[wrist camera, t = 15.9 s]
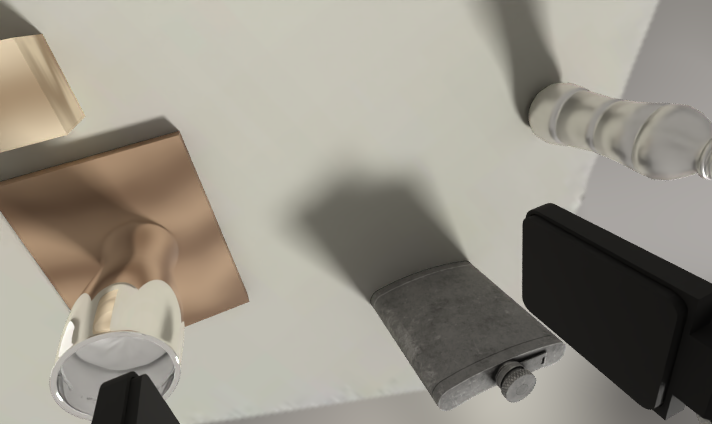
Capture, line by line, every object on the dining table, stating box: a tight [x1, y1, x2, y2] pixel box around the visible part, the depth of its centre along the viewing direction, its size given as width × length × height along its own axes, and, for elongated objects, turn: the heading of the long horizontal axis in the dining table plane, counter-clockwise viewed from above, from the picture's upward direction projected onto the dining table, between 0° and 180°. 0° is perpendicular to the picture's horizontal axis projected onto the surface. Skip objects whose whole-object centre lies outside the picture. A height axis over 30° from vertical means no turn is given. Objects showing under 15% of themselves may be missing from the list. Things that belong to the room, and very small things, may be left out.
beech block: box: [0, 34, 85, 153], centre depth 27 cm, size 6×6×6 cm
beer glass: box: [49, 222, 185, 421], centre depth 30 cm, size 7×7×15 cm
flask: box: [371, 261, 566, 411], centre depth 44 cm, size 4×14×18 cm, turn 97°
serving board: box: [0, 131, 249, 327], centre depth 37 cm, size 18×14×2 cm
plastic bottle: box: [529, 83, 712, 181], centre depth 39 cm, size 6×7×20 cm
